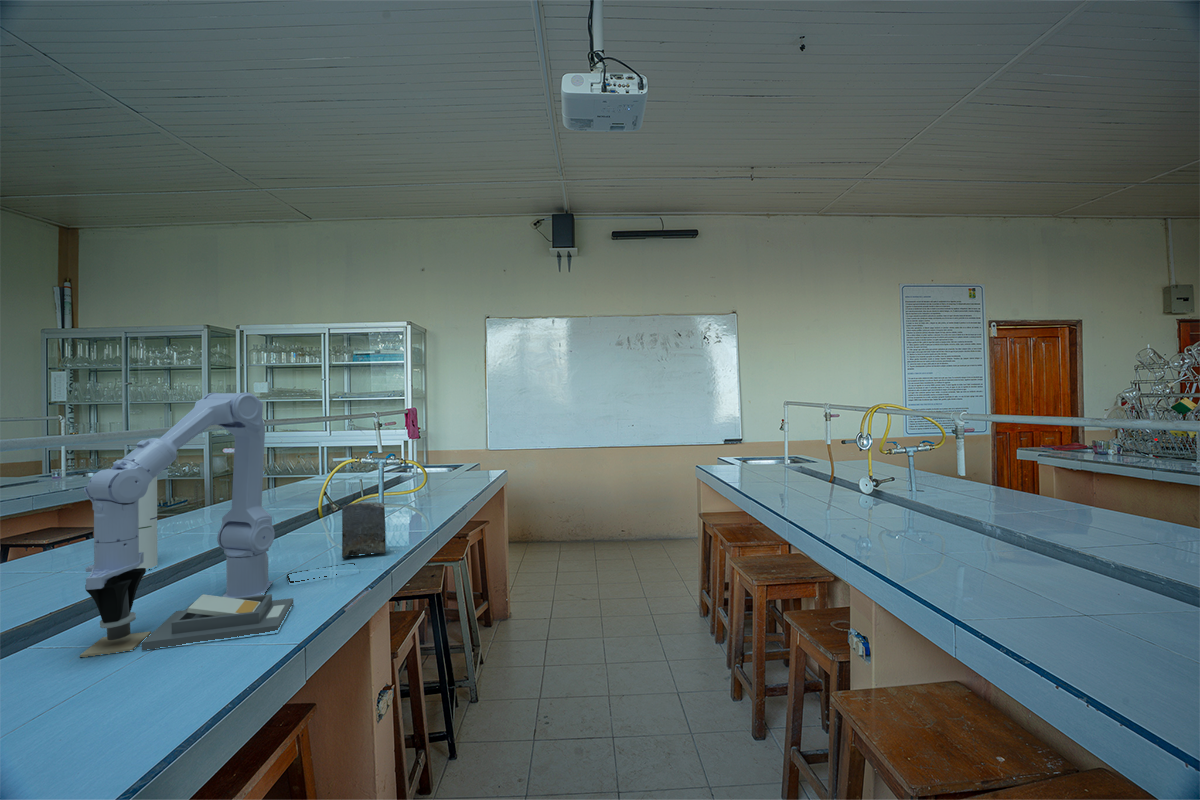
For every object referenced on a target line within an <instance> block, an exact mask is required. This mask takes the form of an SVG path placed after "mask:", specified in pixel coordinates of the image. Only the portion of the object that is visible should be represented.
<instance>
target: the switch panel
mask: <svg viewBox="0 0 1200 800" xmlns="http://www.w3.org/2000/svg"><path fill="white" fill-rule="evenodd" d="M235 599H243V600H250V601H258V602H261V604H260V605H259V607H258V608H257V610H256V611H255V612H247V613H238V614H230V615H221V616H212V615H204V614H196V613H187V611H188V608H189V607H190V606H191V605H192V604H193V603H194V602H195V601H193V602H192V603H191V604H190V605H189V606H187V608H185V609H184V610H176V611H174V612H173V613H172V614H171V615H170V616H169V617H168V618H167V619H166V620H165V621H163V622H162V623H161V625H159V626H157V628H156V629H155V630H153V632H151V635H150V636H148V637H147V638H146V639H145V640H144V641H143V642H142V643H141V651H142V650H147V649H155V648H160V647H168V646H176V645H182V644H186V643H193V642H200V641H208V640H215V639H224V638H231V637H237V636H238V637H239V636H244V635H250V634H259V633H265V632H270V631H275V630H278V628H279V627H280V625H281V623H282V621H283V620H284V618H285V616H286V614H287V612H288V611H289V609H290V607H291V606H292V604H293V605H294V597H292V598H283V599H274V600H273V594H272V593H269V594H264V595H258V596H249V597H240V598H235Z"/></svg>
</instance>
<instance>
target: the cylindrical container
mask: <svg viewBox="0 0 1200 800" xmlns="http://www.w3.org/2000/svg"><path fill="white" fill-rule="evenodd" d="M140 552H144V562H143V563H142V564H140V566H139V567H137V568H146V569H148V568H152V567H154V566H156V565H157V566H158V475H157V476H156V477H155V478H153V479H152V481H151V482H150V483H149V485H148V489H147V492H146V494H145V495H144V496H143V497H142V498H140V499H139V553H140Z"/></svg>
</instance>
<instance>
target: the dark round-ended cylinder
mask: <svg viewBox="0 0 1200 800" xmlns="http://www.w3.org/2000/svg"><path fill="white" fill-rule="evenodd" d="M136 618H137V615H136V612H134V611H130V613H129V599H128V589H127V591H126V594H125V598H124V603H123V610H122V615H121V618H120V620H119V621H117V622H108V623H103V621H102V619H101V620H100V621H99V628H101V629H106V637H107V639H108V640H116V639H120V638H123V637H126V636H128V635H130V634H132V633H131V632H132V631H131V622H133V621H135V620H136Z"/></svg>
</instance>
